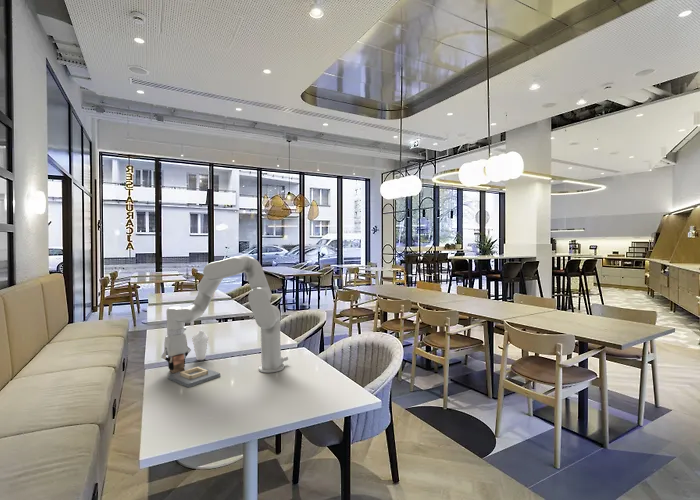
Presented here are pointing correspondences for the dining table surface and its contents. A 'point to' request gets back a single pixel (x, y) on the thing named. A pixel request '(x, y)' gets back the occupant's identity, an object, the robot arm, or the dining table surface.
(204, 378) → the slate board
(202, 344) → the soft serve ice cream cone
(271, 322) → the robot arm
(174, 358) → the block stack
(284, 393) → the dining table surface
